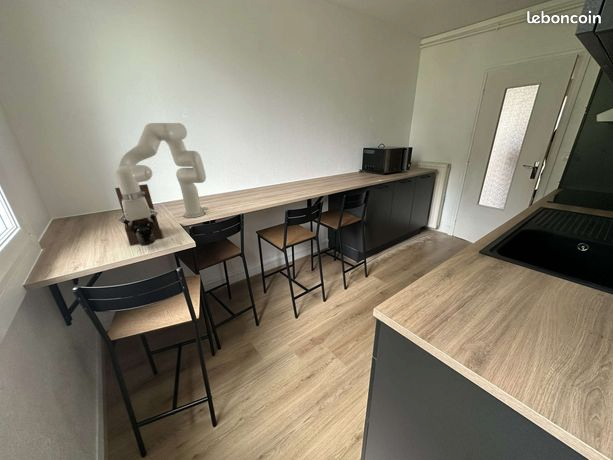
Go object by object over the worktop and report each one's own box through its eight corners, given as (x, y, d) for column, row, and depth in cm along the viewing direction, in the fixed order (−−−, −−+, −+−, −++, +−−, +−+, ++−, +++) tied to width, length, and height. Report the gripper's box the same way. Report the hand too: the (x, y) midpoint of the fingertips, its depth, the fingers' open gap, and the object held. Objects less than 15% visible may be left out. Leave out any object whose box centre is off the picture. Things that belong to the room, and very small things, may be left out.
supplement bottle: (157, 242, 127) (150, 220, 122) (142, 247, 122) (134, 225, 117) (152, 238, 131) (145, 217, 126) (137, 243, 126) (130, 221, 121)
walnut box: (162, 238, 138) (157, 221, 134) (130, 245, 130) (124, 228, 126) (159, 229, 150) (155, 213, 146) (130, 235, 142) (124, 218, 138)
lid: (147, 184, 140) (146, 183, 144) (114, 188, 132) (115, 187, 136) (155, 212, 145) (154, 211, 149) (124, 218, 138) (124, 216, 142)
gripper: (152, 190, 123) (162, 223, 131) (109, 197, 114) (122, 232, 122) (154, 194, 117) (164, 228, 125) (109, 201, 109) (122, 238, 116)
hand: (143, 230), depth 123 cm, fingers closed on supplement bottle, 6 cm apart
